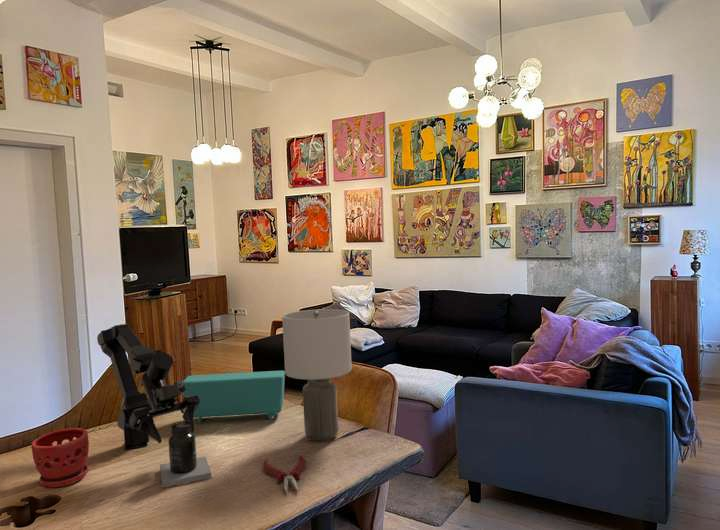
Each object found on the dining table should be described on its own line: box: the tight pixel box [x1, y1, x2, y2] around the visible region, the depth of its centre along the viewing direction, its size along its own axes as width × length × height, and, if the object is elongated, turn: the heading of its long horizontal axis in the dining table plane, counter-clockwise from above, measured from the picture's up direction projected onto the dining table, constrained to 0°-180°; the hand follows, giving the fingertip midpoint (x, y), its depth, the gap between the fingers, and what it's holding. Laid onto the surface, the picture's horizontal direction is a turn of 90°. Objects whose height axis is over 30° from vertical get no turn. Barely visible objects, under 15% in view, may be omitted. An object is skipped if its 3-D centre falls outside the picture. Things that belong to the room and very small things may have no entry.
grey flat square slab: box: [159, 456, 212, 488], centre depth 146 cm, size 12×12×2 cm
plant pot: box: [31, 427, 90, 488], centre depth 146 cm, size 13×13×12 cm
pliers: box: [262, 454, 307, 495], centre depth 141 cm, size 12×20×3 cm, turn 14°
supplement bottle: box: [167, 421, 198, 474], centre depth 146 cm, size 7×7×12 cm
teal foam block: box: [182, 370, 286, 424], centre depth 190 cm, size 34×10×15 cm, turn 93°
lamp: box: [281, 308, 353, 442], centre depth 168 cm, size 20×20×39 cm
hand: (177, 437), depth 148 cm, fingers open, 9 cm apart
